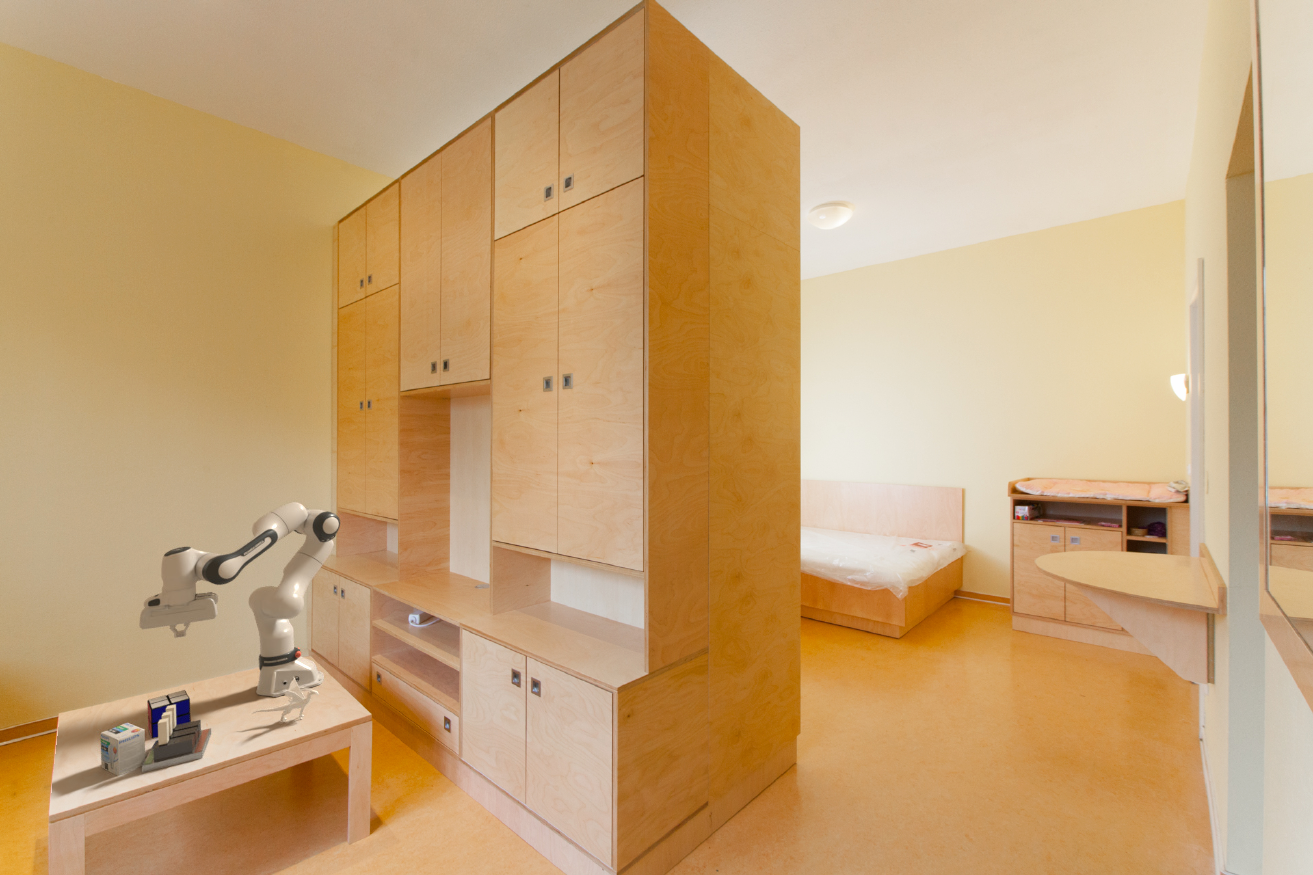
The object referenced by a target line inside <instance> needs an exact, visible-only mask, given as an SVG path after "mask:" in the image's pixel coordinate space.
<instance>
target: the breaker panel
mask: <svg viewBox="0 0 1313 875" xmlns="http://www.w3.org/2000/svg"><path fill="white" fill-rule="evenodd" d="M201 723H202V722H201V719H198V720H194V721H191V722H188V723H183V724H178V725H176V727H175V728H174V729H172V734H171V736H169V741H168V743H166V744H162V745H159V743H158V739H157V740H155V741H154V743H153V745H152V747H151V749H150V750H149V752H148V754H147V756H146V757H145V762H144V763H143V765H142V766H141V773H142V774H143V773H146V772H147V773H148V772H151V771H155V770H160V769H164V768H168V767H172V766H175V765H180V764H184V763H189V762H191V761H195V760H196V761H197V760H200V759H203V757H204V754H205V752H206V750H207V747H208V744H209V741H210V738H211V736H212V728H211V727H210V728H206V729H202V726H201Z"/></svg>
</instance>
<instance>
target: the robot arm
mask: <svg viewBox="0 0 1313 875" xmlns="http://www.w3.org/2000/svg"><path fill="white" fill-rule="evenodd" d="M340 527H341V519H340V517H339V515H337V514H336V513H334V512H332V511H326V510H323V509H317V508H316V509H312V508H311V509H310V508H306V507H305V506H304V505H303V504H302V503H300V502H297V501H292V502H289V503H285V504H284V505H283V504H282V505H280V506H279V507H276V508H275V509H273V510H271V511H269V512H267V513H266V514H264V515H263V516H261V517H259V518H258V519H257V520H256V521H255V522H254V523H253V525H252V529H251V532H252V535H253V537H252V538H251V539H250V540H249V541H247V542H245V543H244V544H243V545H241V546H240V547H239V548H237V549H236V550H234V551H233V552H230V553H229V552H228V553H224V554H222V553H217V552H211V551H210V552H209V551H203V550H199V549H195V548H194V547H192V546H181V547H176V548H172V549H171V550H168V551H167V552H165V553H164V554H163V557H162V559H161V560H162V561H161V566H160V567H161V570H160V571H161V572H160V573H161V574H160V576H161V580H162V586H161V592H160V593H157V594H154V595H151V596H149V597H148V598H146V599H145V600H144V601H143V609H142V610H141V612H140V616H139V628H140V629H141V630H149V629H155V628H161V627H163V628H164V627H169V629H170V631H171V632H172V633H173V634H174V638H175V639H176V638H177V639H178V638H182V637H186V636H187V630H188V628H189V627H190V625H191V623H195V622H203V621H208V620H209V621H211V620H214V619H216V618H217V617H218V614H219V613H218V612H219V611H218V604H217V603H218V601H219V595H218V594H217V593H215V592H212V591H210V592H209V591H208V592H200V593H197V584H196V583H197V582H199V581H204V582H208V583H210V584H214V585H217V586H222V585H226V584H229V583H231V582H233V581H234V580H235V579H236V578H237V577H238V576H239V575H240V574H241V573H242V571H243V570H244V568H246V566H248V565H249V564H250V563H251V562H252V563H253V561H254V560H255V559H258V557H260V556H261V555H263V554H264V553H265V552H267V551H268V550H269V549H270V548H272V547H273V546H274V545H275V544H276V543H277V542H279V541H280V540H282V539H283V538H285V537H287V536H289V534H292V532H295V533H297V534H299V535H304V536H305V540H304V543H303V544H302V546H301V547H299V549H298V550H297V552H296V553H294V555H293V556H292V557H291V559H290V560H289V561H288V562H287V564H286V565H285V567H284V568H283V571H282V572H283V575H282V578H281V581H280V583H279V584H278V586H272V585H268V586H262V587H258V588H256V589H255V590H254V591H252V592H251V594H250V596H249V597H248V606H249V608H250V609H251V611H252V613H253V616H254V620H255V622H256V627H257V629H258V635H259V649H260V650H259V651H260V652H259V655H258V668H259V678H258V683H257V688H256V691H255V693H256V694H257V695H258V696H264V697H265V696H268V697H269V696H270V697H273V698H277V697H280V696H283V695H284V696H285V692H286V690H289V687H290V684H291V682H292V680H293V679H294V678H295V680H296V682H297V684H298V686H299V688H300V689H304V688H301V687H305V688H309V689H311V688H313V687H317V686H319V685H320V684H322V683H323V682H324V680H325V675H324V672H323V671H321V670H318V667H317V665H316V663H315V662H314V661H313V660H311V659H308V658H307V657H303V656H302V652H301V648H300V647H295V629H294V627H293V625H292V624H291V622H290V619H293V618H294V619H295V618H296V617H298V616H299V615H300V614H301V612H303V609H304V607H305V599H304V598H305V595H306V593H307V590H308V587H309V586H310V584H311V582H312V580H313V579H314V578H315V577H316V575H317V573H318V572H319V571H320V569H321V568H322V567H323V565H324V564H325V563H326V561H327V559H328V558H329V556H330V554H331V553H332V550H333V549H334V545H335V543H334V540H333V539H334V538H335V537H336V535H337V533H338V532H339V530H340ZM182 624H183V627H184V629H183V630H178V629H177V628H176V627H177V625H182Z"/></svg>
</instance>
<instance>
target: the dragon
mask: <svg viewBox="0 0 1313 875" xmlns="http://www.w3.org/2000/svg"><path fill="white" fill-rule="evenodd" d="M301 688H304V689H300V688H299V686H298V684H297V682H296V680H295V678H294V679H293V680H292V682H291V684H290V687H289V690H286V692H285V695H284V696H285V697H288V698H289V699H288V700H287V701H288V702H286V703H285V704H282V705H279V706H276V707H271V708H270V707H269V708H264V709H259V710H258V709H257V710H255V711H253V712H252V713H251V715H252V714H254V713H255V714H256V713H263V712H264V713H268V712H280V711H283V712H282V713H281V716H280V722H281V723H286V721H287V720H288V718H287V717H285V716H287V715H289V714H290V713H291V712H292V711H293V709H300V711H299V716H298V718H299V719H300V720H303V719H304V717H305V715H304V714H303V713H304V710H305V707H307V705H308V704H309V703H311V699H312V696H313V695H317V696H319V694H320V693H319V692H318V691H317V690H315V689H312V688H305V687H301ZM303 691H304V692H307V691H308V692H307V694H306V696H305V695H304V693H303Z"/></svg>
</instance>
